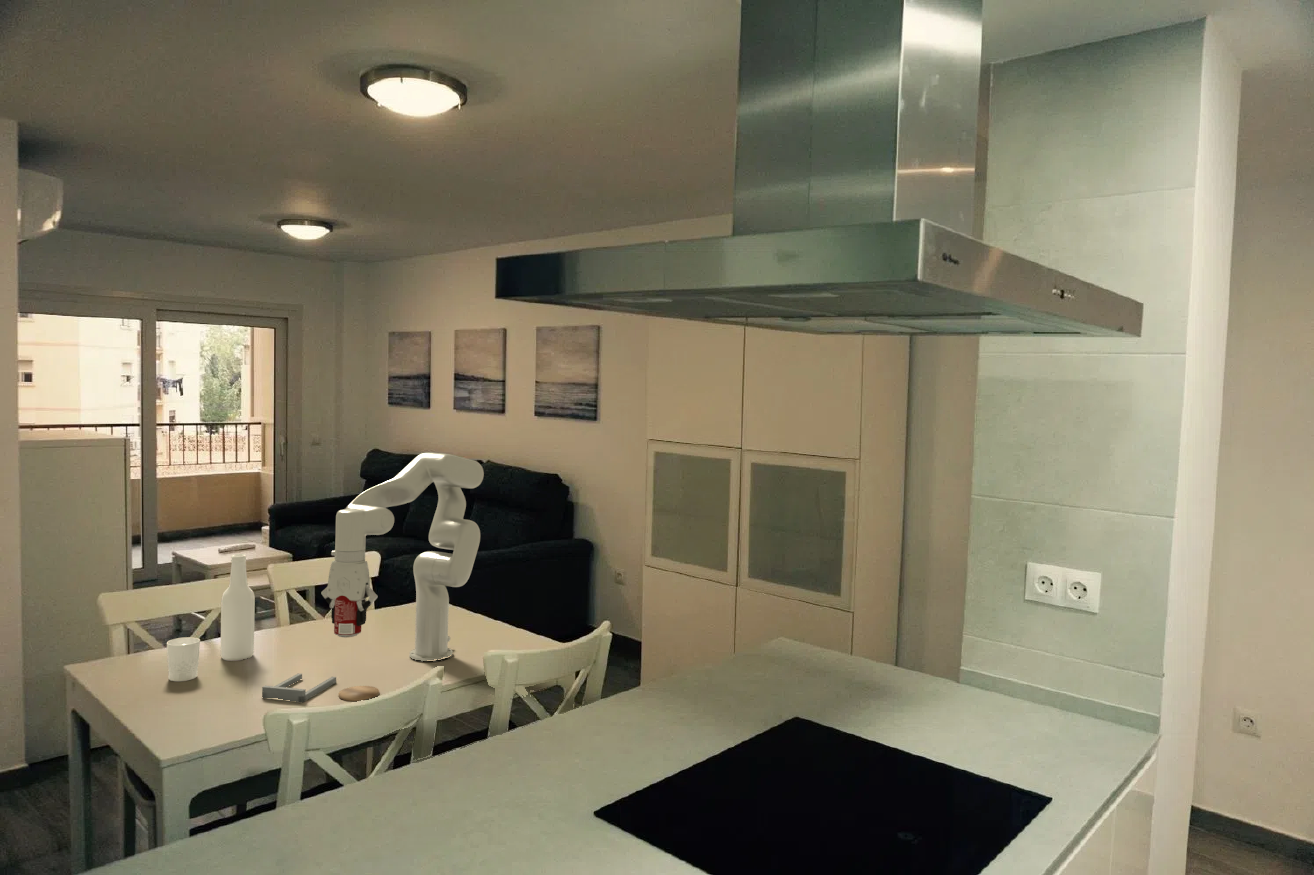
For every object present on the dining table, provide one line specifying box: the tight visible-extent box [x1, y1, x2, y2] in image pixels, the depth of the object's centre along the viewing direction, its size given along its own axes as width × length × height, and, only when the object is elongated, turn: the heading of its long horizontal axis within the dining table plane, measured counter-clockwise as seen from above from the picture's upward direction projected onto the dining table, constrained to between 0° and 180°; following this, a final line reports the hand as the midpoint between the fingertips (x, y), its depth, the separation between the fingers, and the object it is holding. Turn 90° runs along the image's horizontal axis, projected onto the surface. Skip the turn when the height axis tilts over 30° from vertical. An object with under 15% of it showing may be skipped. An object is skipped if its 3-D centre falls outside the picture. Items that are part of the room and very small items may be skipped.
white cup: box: [166, 636, 201, 682], centre depth 232 cm, size 8×8×10 cm
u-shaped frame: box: [261, 673, 337, 703], centre depth 226 cm, size 16×11×3 cm
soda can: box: [333, 592, 362, 638], centre depth 227 cm, size 7×7×12 cm
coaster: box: [337, 685, 380, 702], centre depth 224 cm, size 10×10×1 cm
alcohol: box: [220, 553, 256, 662], centre depth 251 cm, size 9×9×30 cm
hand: (348, 622), depth 227 cm, fingers closed on soda can, 6 cm apart
